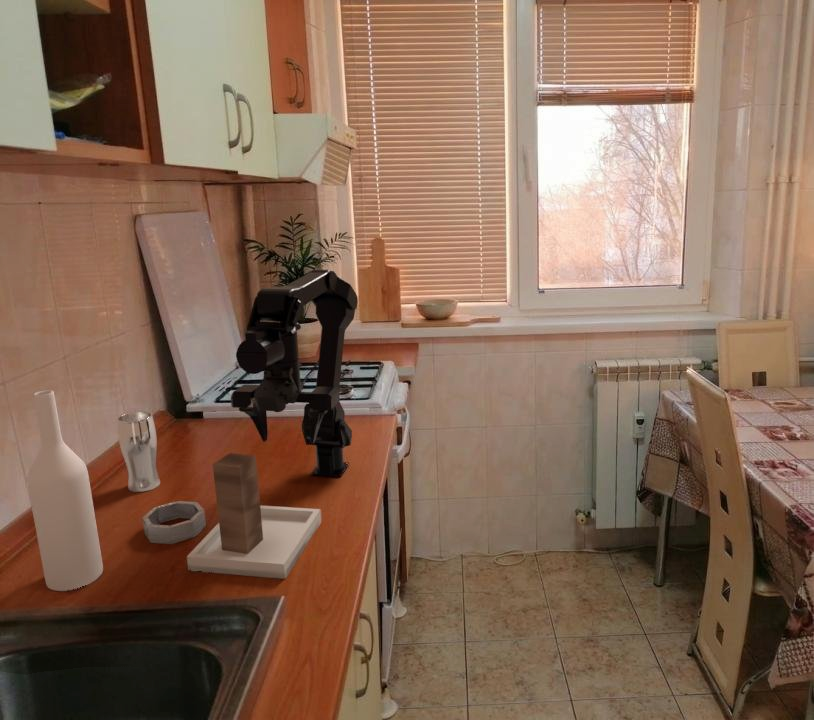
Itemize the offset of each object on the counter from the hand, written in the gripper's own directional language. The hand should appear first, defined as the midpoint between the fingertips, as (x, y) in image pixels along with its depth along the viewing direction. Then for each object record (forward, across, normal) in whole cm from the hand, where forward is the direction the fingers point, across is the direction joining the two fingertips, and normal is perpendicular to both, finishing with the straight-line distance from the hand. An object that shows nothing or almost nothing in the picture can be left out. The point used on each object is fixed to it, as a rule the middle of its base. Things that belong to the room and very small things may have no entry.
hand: (288, 441), depth 120 cm
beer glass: (+13, -34, +5) cm, 37 cm away
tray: (+13, -1, -14) cm, 19 cm away
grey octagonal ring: (+13, -18, -11) cm, 25 cm away
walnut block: (+12, -3, -16) cm, 20 cm away
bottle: (+13, -26, -27) cm, 40 cm away
